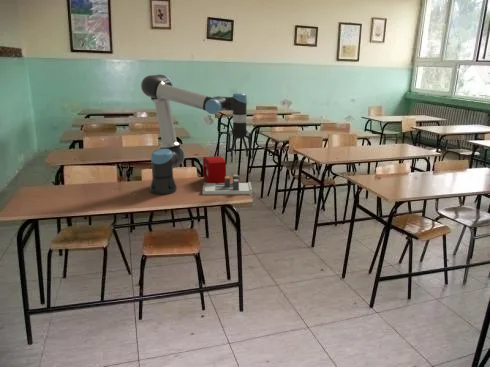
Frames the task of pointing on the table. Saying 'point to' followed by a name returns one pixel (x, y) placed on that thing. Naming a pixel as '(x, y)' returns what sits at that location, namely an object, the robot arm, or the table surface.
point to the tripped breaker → (227, 181)
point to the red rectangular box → (214, 169)
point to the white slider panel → (221, 189)
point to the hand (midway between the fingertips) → (239, 162)
